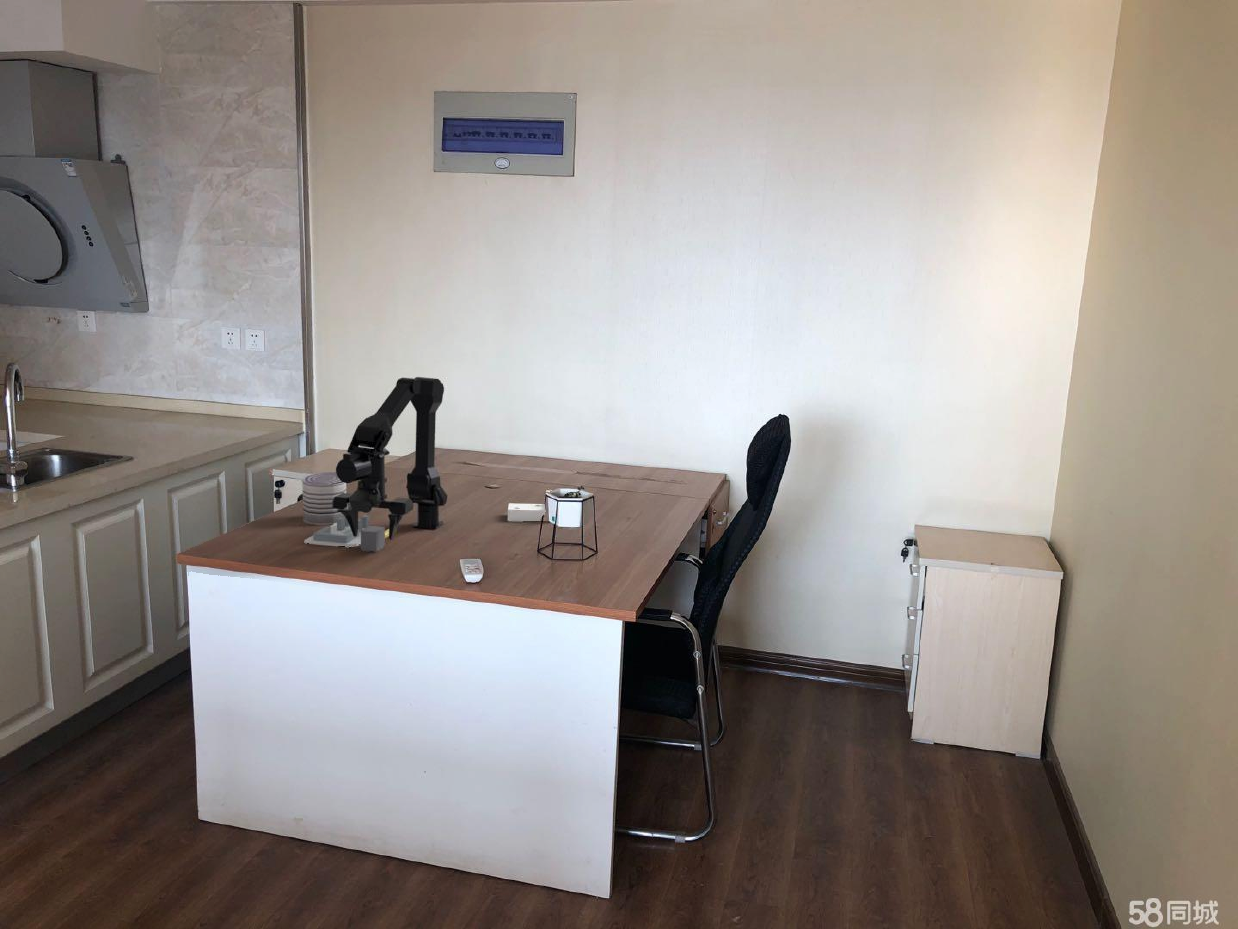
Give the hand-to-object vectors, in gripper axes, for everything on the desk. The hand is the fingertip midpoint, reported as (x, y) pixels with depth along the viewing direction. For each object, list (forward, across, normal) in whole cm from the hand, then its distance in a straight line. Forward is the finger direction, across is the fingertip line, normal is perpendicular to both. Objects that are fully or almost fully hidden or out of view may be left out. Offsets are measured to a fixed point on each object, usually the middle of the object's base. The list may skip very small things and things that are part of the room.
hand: (373, 537), depth 240 cm
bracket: (+3, +29, +41) cm, 50 cm away
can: (+3, -23, +21) cm, 31 cm away
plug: (+3, 0, +5) cm, 6 cm away
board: (+3, -11, +7) cm, 14 cm away
